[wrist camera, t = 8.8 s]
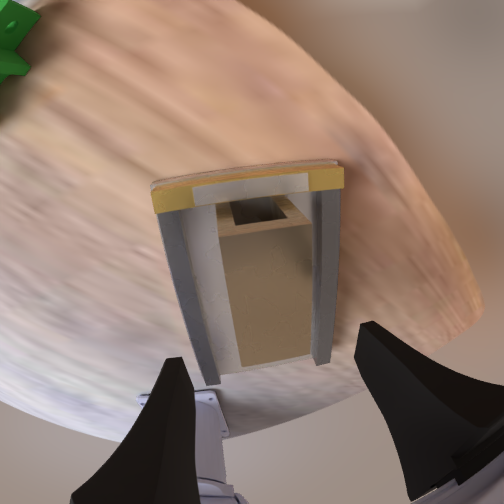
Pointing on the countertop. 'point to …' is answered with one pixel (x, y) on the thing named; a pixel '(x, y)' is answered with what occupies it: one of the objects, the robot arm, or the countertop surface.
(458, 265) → the countertop surface
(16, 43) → the pipe clamp
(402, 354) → the robot arm
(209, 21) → the countertop surface
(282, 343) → the tan notched block
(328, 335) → the silver channel bracket
